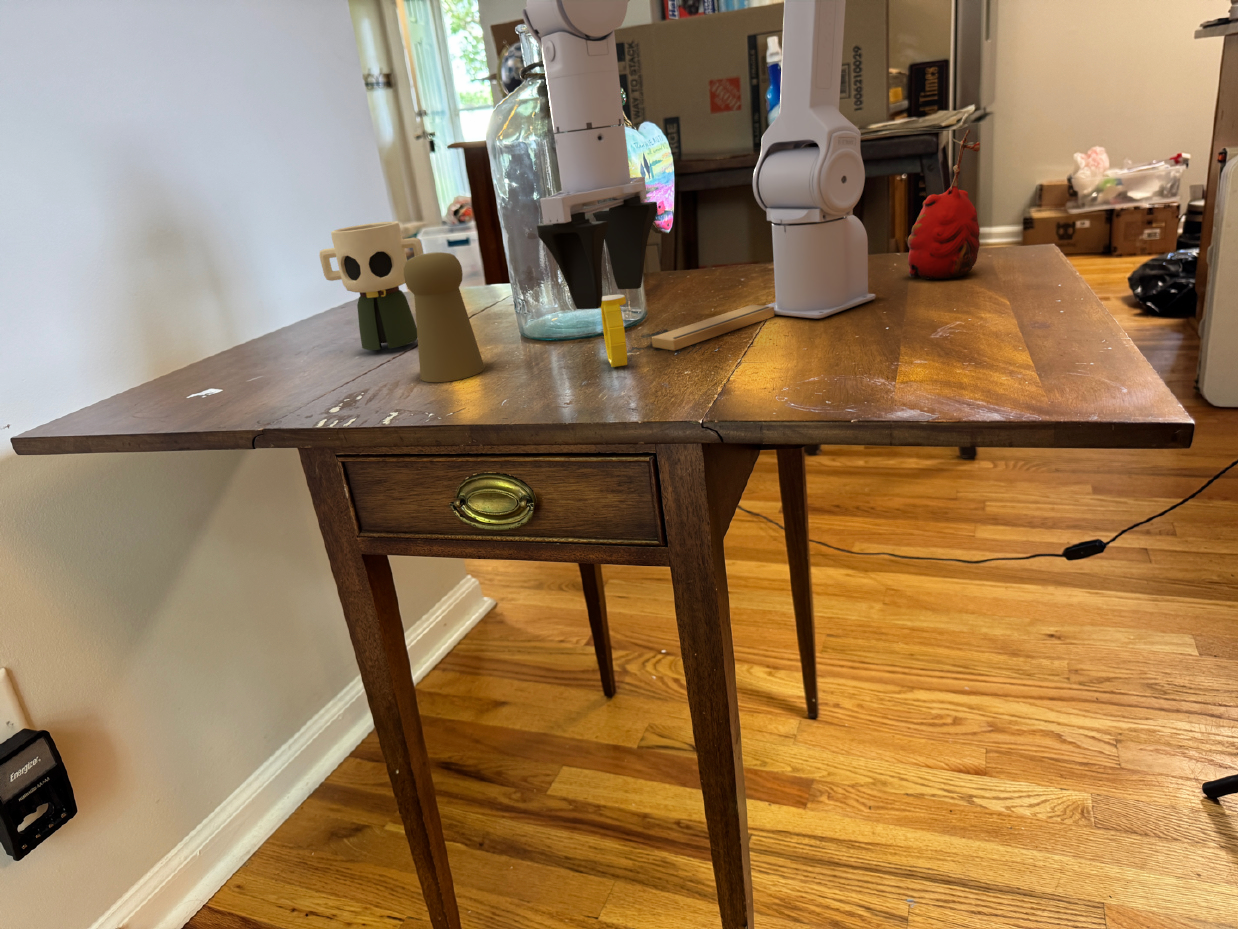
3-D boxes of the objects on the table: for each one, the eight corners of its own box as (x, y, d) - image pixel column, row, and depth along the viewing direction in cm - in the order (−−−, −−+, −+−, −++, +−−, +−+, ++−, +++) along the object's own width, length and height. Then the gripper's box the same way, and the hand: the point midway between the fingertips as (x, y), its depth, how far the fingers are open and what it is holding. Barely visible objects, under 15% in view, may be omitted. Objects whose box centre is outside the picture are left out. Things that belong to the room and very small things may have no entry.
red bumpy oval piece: (945, 266, 98) (949, 128, 92) (994, 272, 92) (1001, 124, 86) (894, 278, 95) (894, 136, 90) (941, 285, 89) (944, 133, 83)
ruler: (752, 314, 87) (751, 303, 87) (774, 316, 85) (774, 305, 85) (652, 347, 79) (651, 336, 79) (674, 350, 77) (673, 339, 77)
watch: (637, 370, 72) (629, 301, 70) (605, 374, 72) (596, 305, 70) (628, 353, 78) (621, 289, 76) (599, 358, 78) (590, 293, 76)
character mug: (334, 361, 90) (302, 236, 85) (352, 345, 96) (324, 229, 92) (435, 349, 90) (409, 223, 85) (446, 334, 96) (423, 216, 91)
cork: (471, 380, 76) (447, 256, 72) (409, 384, 77) (383, 262, 73) (493, 361, 81) (472, 245, 77) (435, 365, 83) (412, 251, 79)
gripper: (589, 129, 60) (612, 317, 65) (671, 119, 72) (685, 279, 77) (507, 140, 63) (535, 318, 68) (598, 128, 75) (617, 281, 80)
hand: (610, 297), depth 73 cm, fingers open, 7 cm apart
